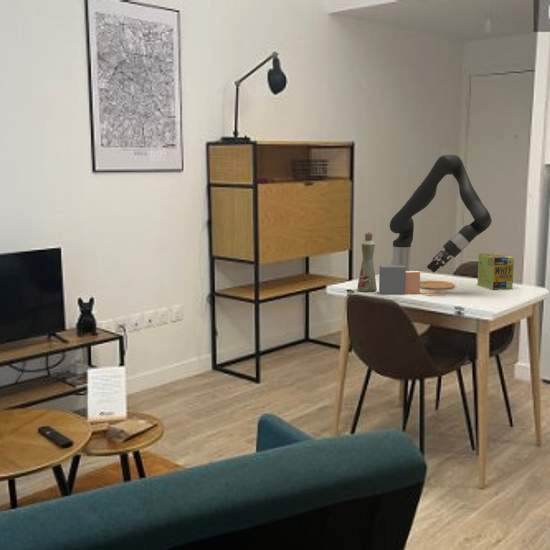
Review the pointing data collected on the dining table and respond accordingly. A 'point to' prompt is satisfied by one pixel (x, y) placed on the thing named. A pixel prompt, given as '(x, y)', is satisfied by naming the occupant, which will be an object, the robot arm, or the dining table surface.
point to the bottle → (367, 266)
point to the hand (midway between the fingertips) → (430, 269)
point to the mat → (431, 293)
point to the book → (412, 282)
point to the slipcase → (392, 279)
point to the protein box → (495, 271)
